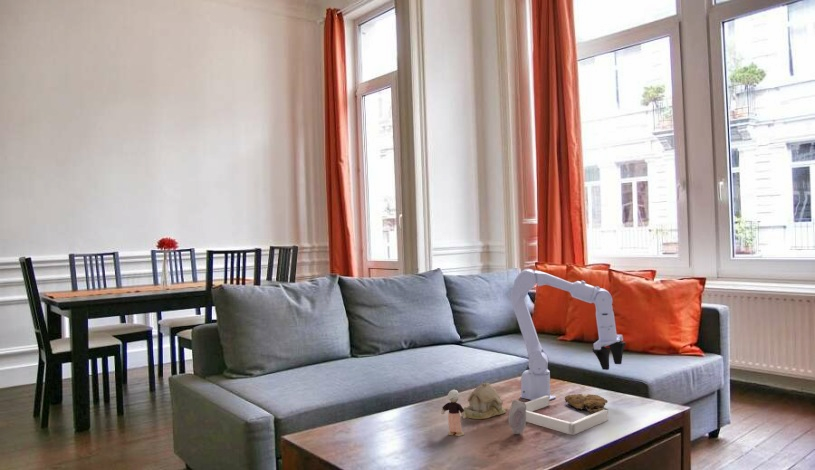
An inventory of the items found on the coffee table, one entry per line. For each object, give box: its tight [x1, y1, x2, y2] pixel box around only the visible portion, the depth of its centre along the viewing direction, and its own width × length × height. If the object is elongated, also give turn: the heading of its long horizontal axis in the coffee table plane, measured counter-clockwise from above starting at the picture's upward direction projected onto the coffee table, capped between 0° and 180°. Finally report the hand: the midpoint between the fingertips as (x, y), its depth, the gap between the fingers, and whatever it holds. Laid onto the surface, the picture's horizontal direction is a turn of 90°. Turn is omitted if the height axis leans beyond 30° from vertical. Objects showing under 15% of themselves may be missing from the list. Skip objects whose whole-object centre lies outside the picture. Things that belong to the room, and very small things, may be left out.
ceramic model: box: [462, 381, 506, 420], centre depth 190 cm, size 14×11×10 cm
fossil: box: [507, 399, 527, 435], centre depth 170 cm, size 6×4×10 cm, turn 117°
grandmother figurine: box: [440, 389, 467, 437], centre depth 172 cm, size 8×4×13 cm, turn 71°
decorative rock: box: [564, 393, 609, 414], centre depth 193 cm, size 11×4×15 cm
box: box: [509, 396, 609, 436], centre depth 183 cm, size 22×18×3 cm
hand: (612, 366), depth 198 cm, fingers open, 7 cm apart
